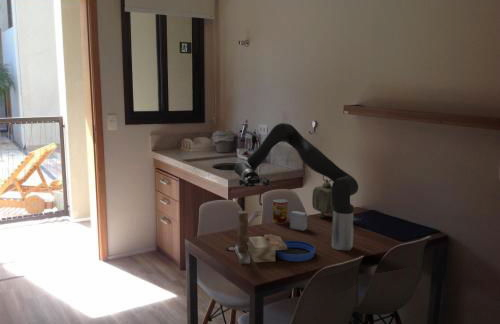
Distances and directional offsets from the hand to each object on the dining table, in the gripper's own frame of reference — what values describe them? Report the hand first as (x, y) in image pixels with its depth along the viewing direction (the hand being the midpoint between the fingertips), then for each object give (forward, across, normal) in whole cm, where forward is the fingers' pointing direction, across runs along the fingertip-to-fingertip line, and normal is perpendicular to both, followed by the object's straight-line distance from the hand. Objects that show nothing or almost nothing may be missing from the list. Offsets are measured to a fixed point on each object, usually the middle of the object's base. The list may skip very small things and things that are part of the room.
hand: (256, 184), depth 208 cm
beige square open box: (+17, +2, +28) cm, 33 cm away
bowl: (+17, +14, +28) cm, 36 cm away
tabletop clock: (-36, +49, +29) cm, 67 cm away
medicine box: (-19, +27, +29) cm, 44 cm away
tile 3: (+12, +4, +22) cm, 25 cm away
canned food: (-32, +21, +29) cm, 48 cm away
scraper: (+17, -9, +28) cm, 34 cm away
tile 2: (+17, +5, +21) cm, 28 cm away
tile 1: (+21, +4, +21) cm, 30 cm away
